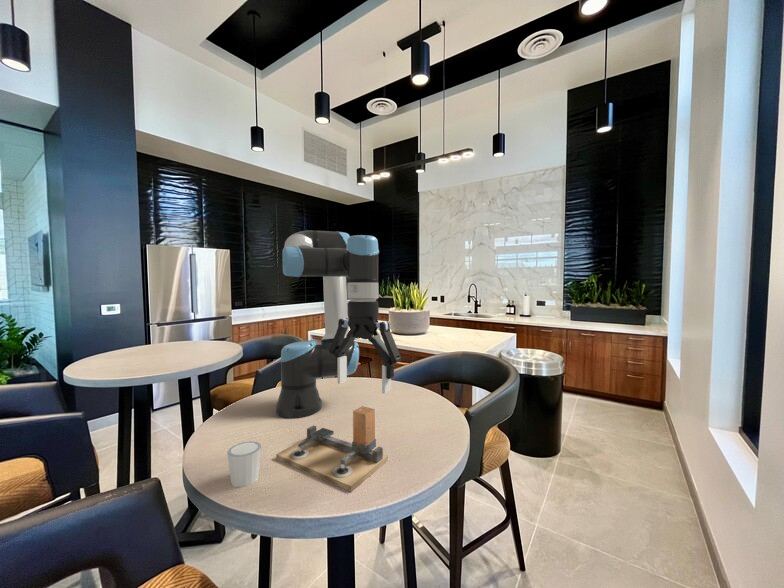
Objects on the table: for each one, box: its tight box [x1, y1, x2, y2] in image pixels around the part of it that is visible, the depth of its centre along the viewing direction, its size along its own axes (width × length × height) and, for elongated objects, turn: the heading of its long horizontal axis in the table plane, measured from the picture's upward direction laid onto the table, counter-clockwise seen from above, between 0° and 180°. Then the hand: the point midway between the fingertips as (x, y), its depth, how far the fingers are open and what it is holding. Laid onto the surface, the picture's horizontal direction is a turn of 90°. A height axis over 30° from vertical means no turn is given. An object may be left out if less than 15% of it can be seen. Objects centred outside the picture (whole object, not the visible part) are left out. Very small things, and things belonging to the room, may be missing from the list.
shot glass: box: [227, 440, 262, 488], centre depth 71 cm, size 7×7×7 cm
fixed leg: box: [298, 427, 335, 454], centre depth 83 cm, size 4×11×2 cm, turn 148°
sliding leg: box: [341, 405, 377, 471], centre depth 75 cm, size 4×11×11 cm, turn 148°
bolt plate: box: [275, 425, 389, 493], centre depth 78 cm, size 24×14×4 cm, turn 58°
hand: (363, 386), depth 78 cm, fingers open, 13 cm apart
